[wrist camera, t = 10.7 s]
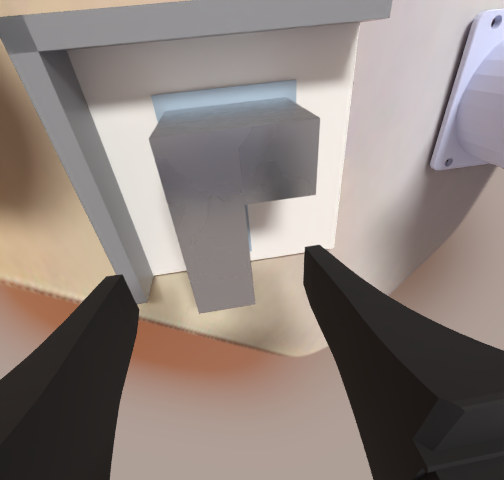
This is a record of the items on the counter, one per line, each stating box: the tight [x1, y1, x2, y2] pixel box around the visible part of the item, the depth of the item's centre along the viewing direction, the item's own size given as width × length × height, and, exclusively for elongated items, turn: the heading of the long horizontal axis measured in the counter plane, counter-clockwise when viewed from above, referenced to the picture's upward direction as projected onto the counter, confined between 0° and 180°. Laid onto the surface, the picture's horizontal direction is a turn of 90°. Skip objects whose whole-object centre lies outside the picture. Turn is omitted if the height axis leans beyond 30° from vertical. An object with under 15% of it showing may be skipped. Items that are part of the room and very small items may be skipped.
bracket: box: [149, 97, 320, 314], centre depth 14 cm, size 9×6×5 cm, turn 5°
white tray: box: [0, 0, 392, 304], centre depth 15 cm, size 14×14×3 cm
